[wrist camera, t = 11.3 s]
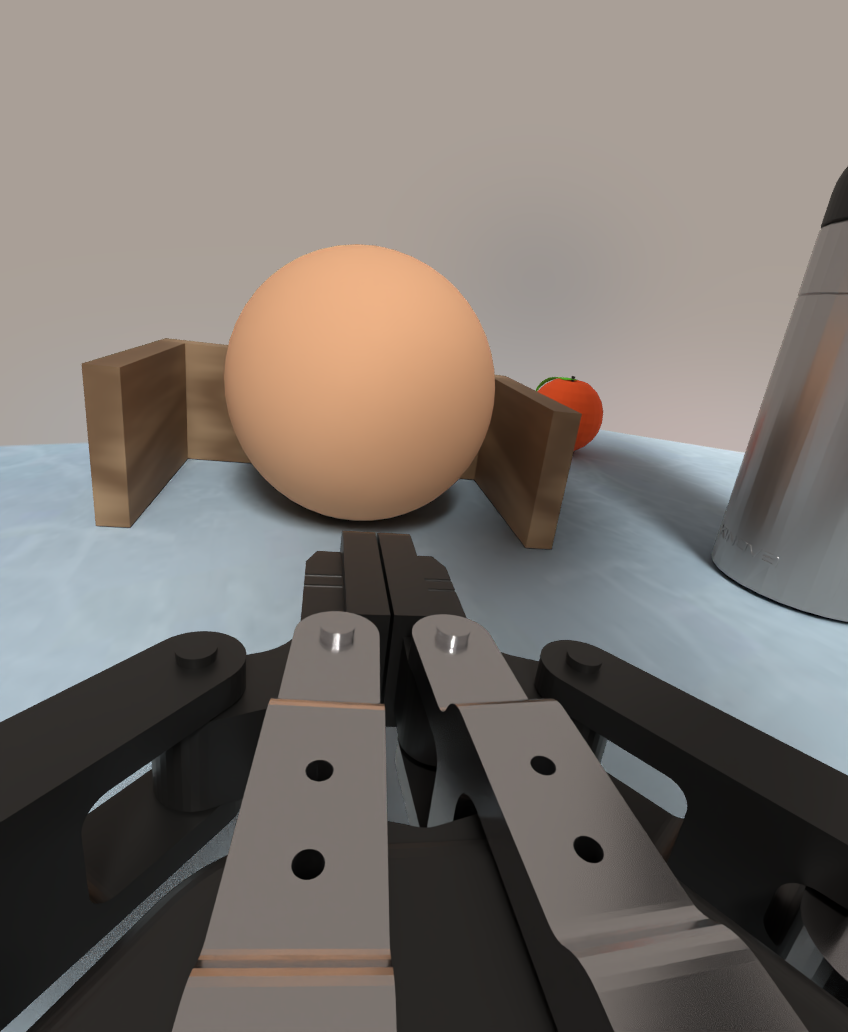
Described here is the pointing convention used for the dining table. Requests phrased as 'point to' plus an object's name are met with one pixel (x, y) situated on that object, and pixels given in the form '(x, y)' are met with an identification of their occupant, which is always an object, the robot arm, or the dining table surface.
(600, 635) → the dining table surface
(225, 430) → the pocket
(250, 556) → the dining table surface
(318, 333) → the ball
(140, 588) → the dining table surface
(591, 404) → the clementine
